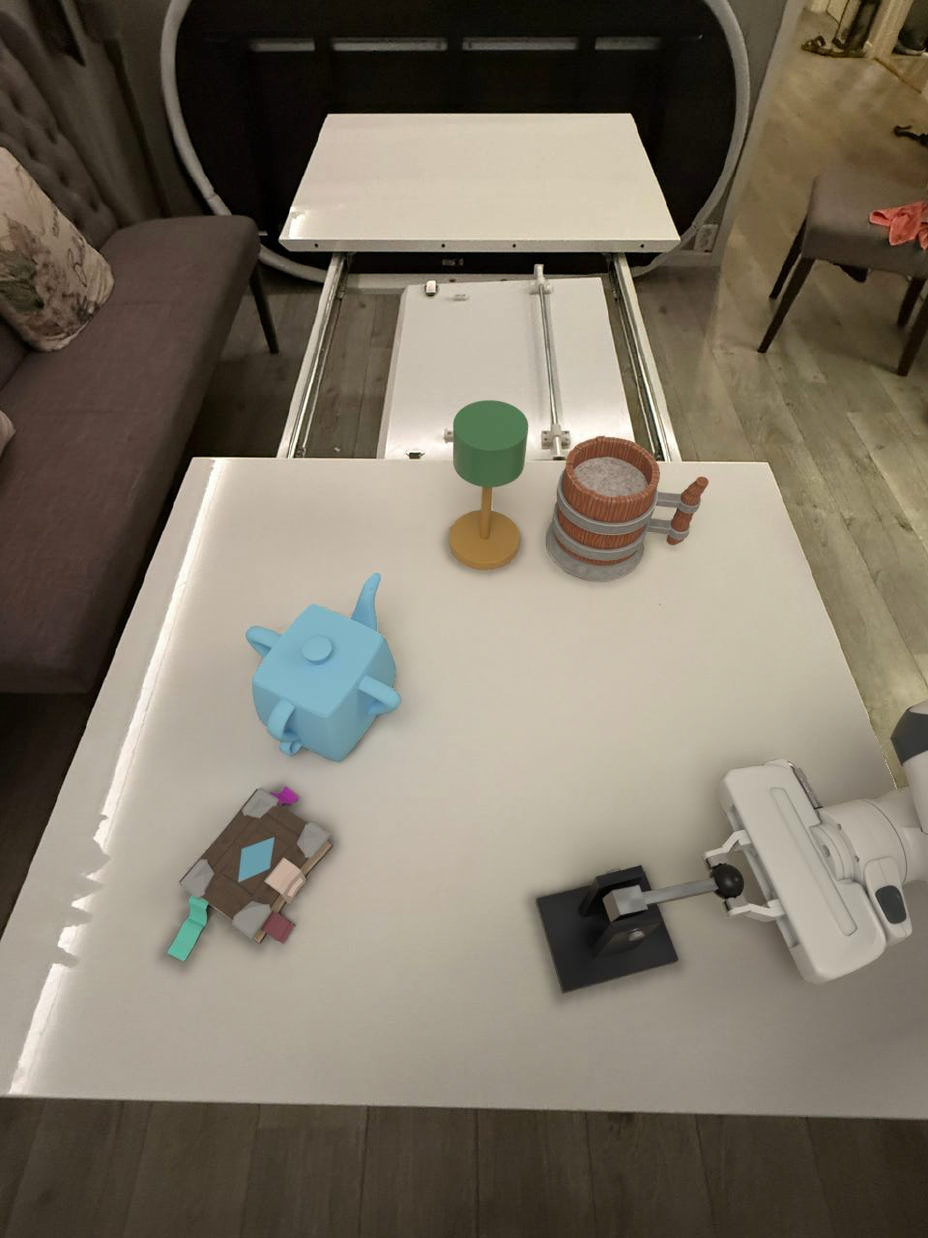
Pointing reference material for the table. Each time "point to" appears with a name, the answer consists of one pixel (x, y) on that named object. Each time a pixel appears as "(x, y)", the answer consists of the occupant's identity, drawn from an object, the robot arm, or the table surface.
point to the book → (253, 870)
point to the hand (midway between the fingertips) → (716, 885)
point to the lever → (673, 893)
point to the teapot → (324, 677)
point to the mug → (613, 508)
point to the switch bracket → (602, 933)
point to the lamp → (487, 480)
